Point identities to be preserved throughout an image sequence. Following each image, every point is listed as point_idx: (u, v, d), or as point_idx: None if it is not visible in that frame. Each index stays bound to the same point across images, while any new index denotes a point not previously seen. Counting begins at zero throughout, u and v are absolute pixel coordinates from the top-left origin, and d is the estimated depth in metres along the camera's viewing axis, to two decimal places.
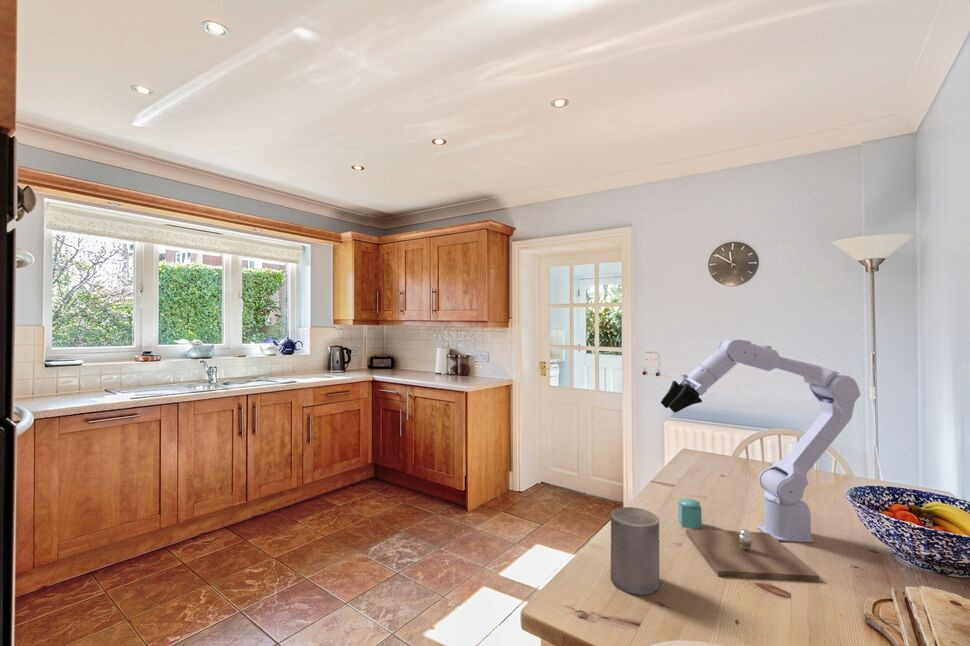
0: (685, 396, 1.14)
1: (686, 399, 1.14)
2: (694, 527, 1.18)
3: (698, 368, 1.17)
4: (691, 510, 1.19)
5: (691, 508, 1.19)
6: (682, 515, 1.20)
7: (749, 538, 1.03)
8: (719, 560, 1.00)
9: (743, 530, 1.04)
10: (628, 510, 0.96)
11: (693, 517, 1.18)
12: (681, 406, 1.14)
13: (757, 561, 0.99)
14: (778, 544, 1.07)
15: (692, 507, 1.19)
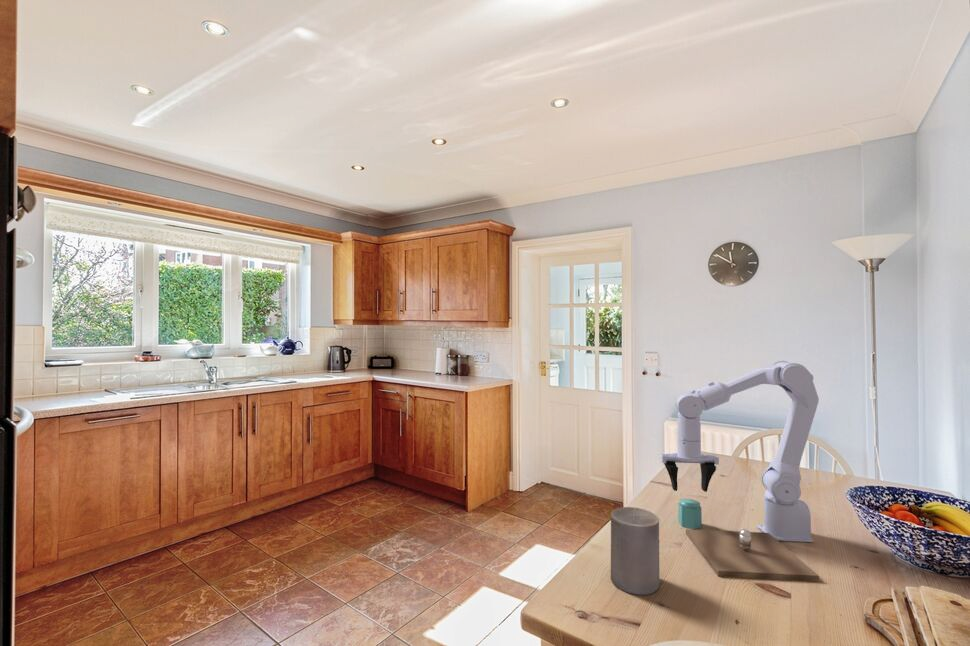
0: None
1: None
2: (694, 527, 1.18)
3: None
4: (691, 510, 1.19)
5: (691, 508, 1.19)
6: (682, 515, 1.20)
7: (749, 538, 1.03)
8: (719, 560, 1.00)
9: (743, 530, 1.04)
10: (628, 510, 0.96)
11: (693, 517, 1.18)
12: None
13: (757, 561, 0.99)
14: (778, 544, 1.07)
15: (692, 507, 1.19)
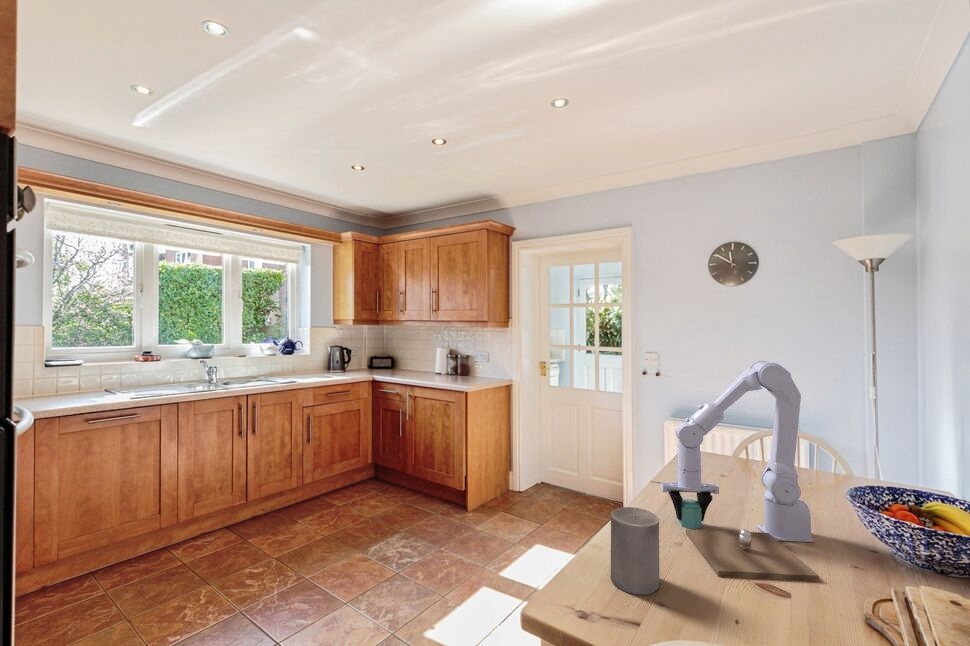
0: None
1: None
2: (694, 527, 1.18)
3: None
4: (691, 510, 1.19)
5: (691, 508, 1.19)
6: (682, 515, 1.20)
7: (749, 538, 1.03)
8: (719, 560, 1.00)
9: (743, 530, 1.04)
10: (628, 510, 0.96)
11: (693, 517, 1.18)
12: (677, 511, 1.21)
13: (757, 561, 0.99)
14: (778, 544, 1.07)
15: (692, 507, 1.19)
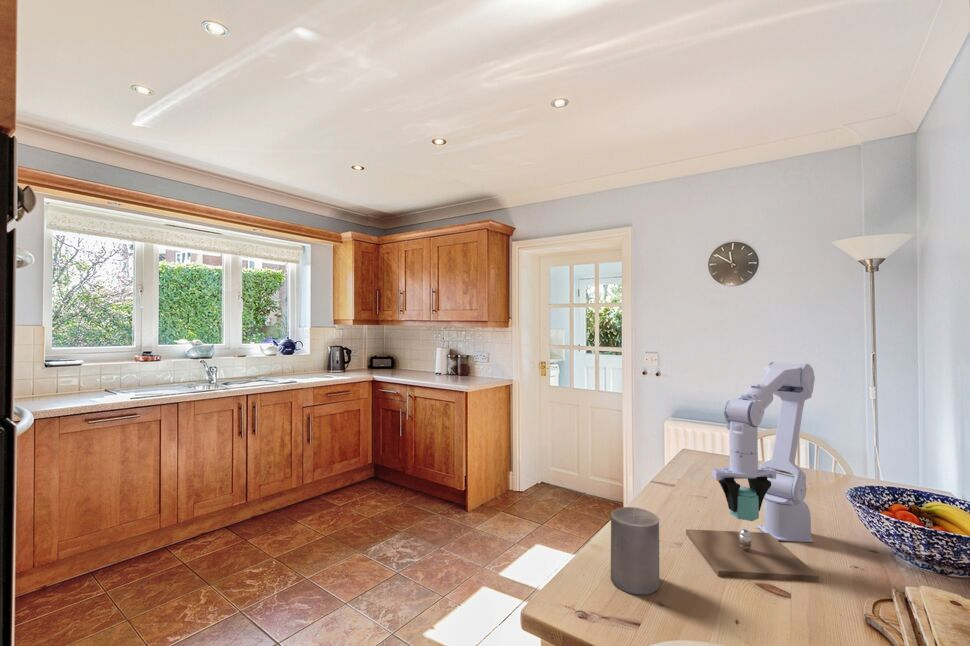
0: (729, 488, 1.05)
1: None
2: (753, 519, 1.02)
3: None
4: (749, 499, 1.02)
5: (749, 497, 1.02)
6: (738, 506, 1.03)
7: (749, 538, 1.03)
8: (719, 560, 1.00)
9: (743, 530, 1.04)
10: (628, 510, 0.96)
11: (752, 507, 1.02)
12: (732, 501, 1.04)
13: (757, 561, 0.99)
14: (778, 544, 1.07)
15: (750, 496, 1.02)
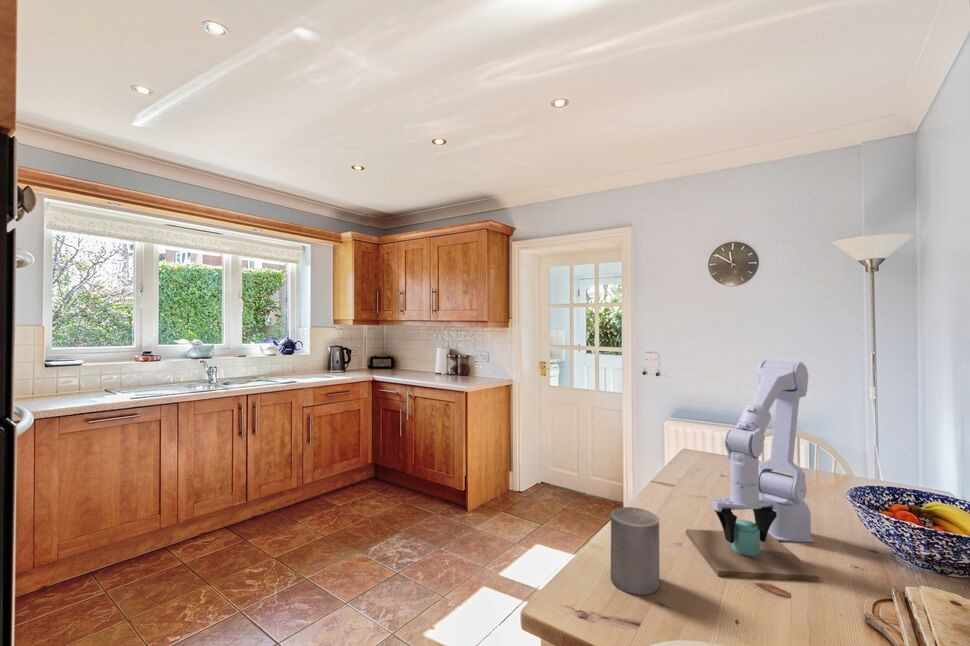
0: (726, 519, 1.05)
1: None
2: (754, 554, 1.02)
3: None
4: (750, 534, 1.02)
5: (750, 532, 1.02)
6: (739, 540, 1.03)
7: None
8: (719, 560, 1.00)
9: None
10: (628, 510, 0.96)
11: (753, 542, 1.02)
12: (729, 532, 1.03)
13: (757, 561, 0.99)
14: (778, 544, 1.07)
15: (751, 530, 1.02)
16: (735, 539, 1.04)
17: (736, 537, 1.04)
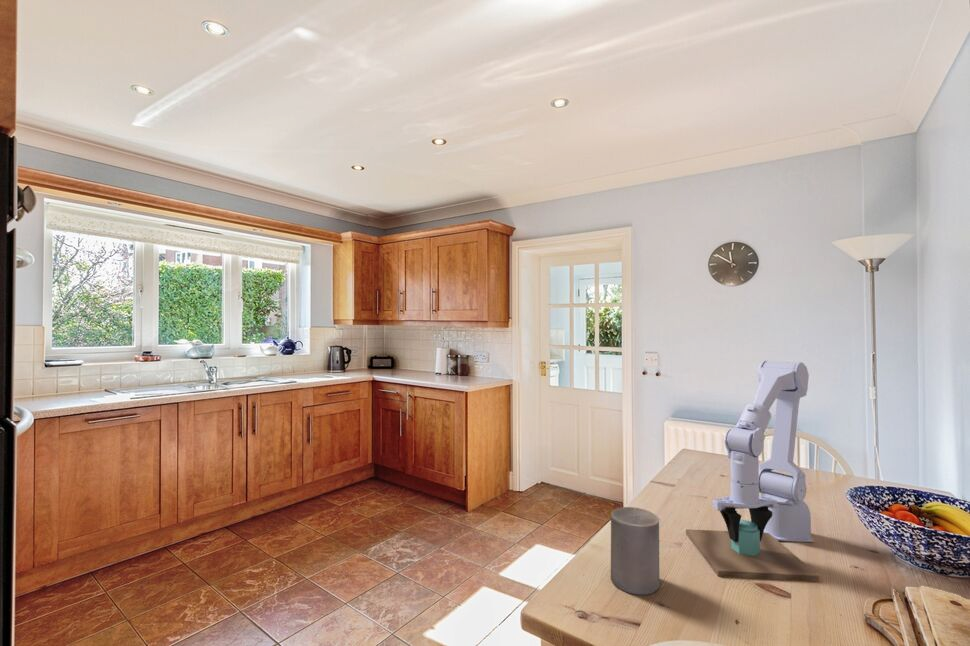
0: (730, 518, 1.05)
1: None
2: (754, 554, 1.02)
3: None
4: (750, 534, 1.02)
5: (750, 532, 1.02)
6: (739, 540, 1.03)
7: None
8: (719, 560, 1.00)
9: None
10: (628, 510, 0.96)
11: (753, 542, 1.02)
12: (733, 531, 1.03)
13: (757, 561, 0.99)
14: (778, 544, 1.07)
15: (751, 530, 1.02)
16: None
17: None
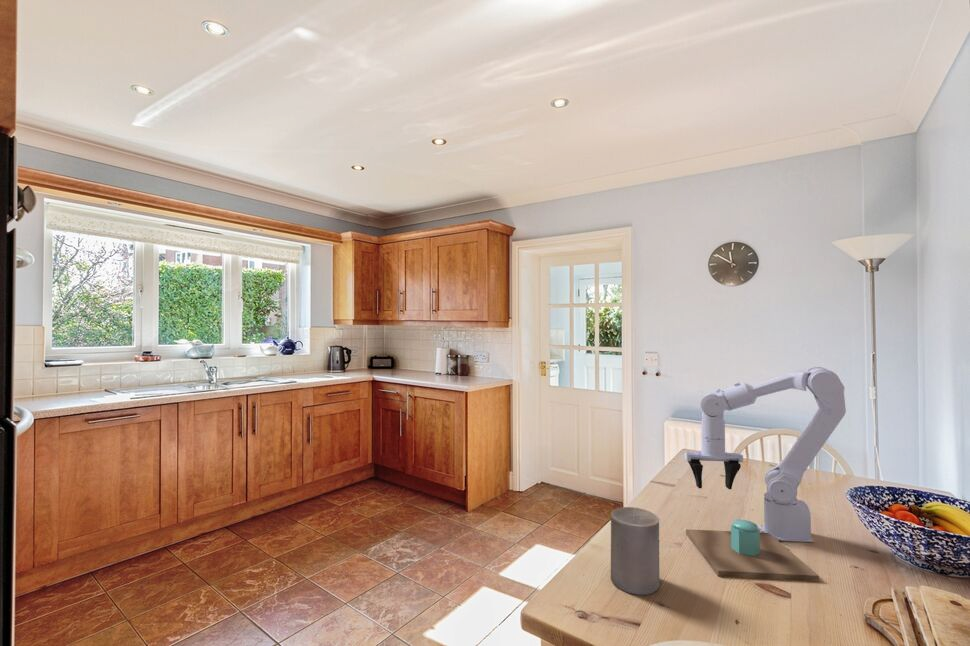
0: None
1: None
2: (754, 554, 1.02)
3: None
4: (750, 534, 1.02)
5: (750, 532, 1.02)
6: (739, 540, 1.03)
7: None
8: (719, 560, 1.00)
9: None
10: (628, 510, 0.96)
11: (753, 542, 1.02)
12: (698, 479, 1.22)
13: (757, 561, 0.99)
14: (778, 544, 1.07)
15: (751, 530, 1.02)
16: (735, 539, 1.04)
17: (736, 537, 1.04)
